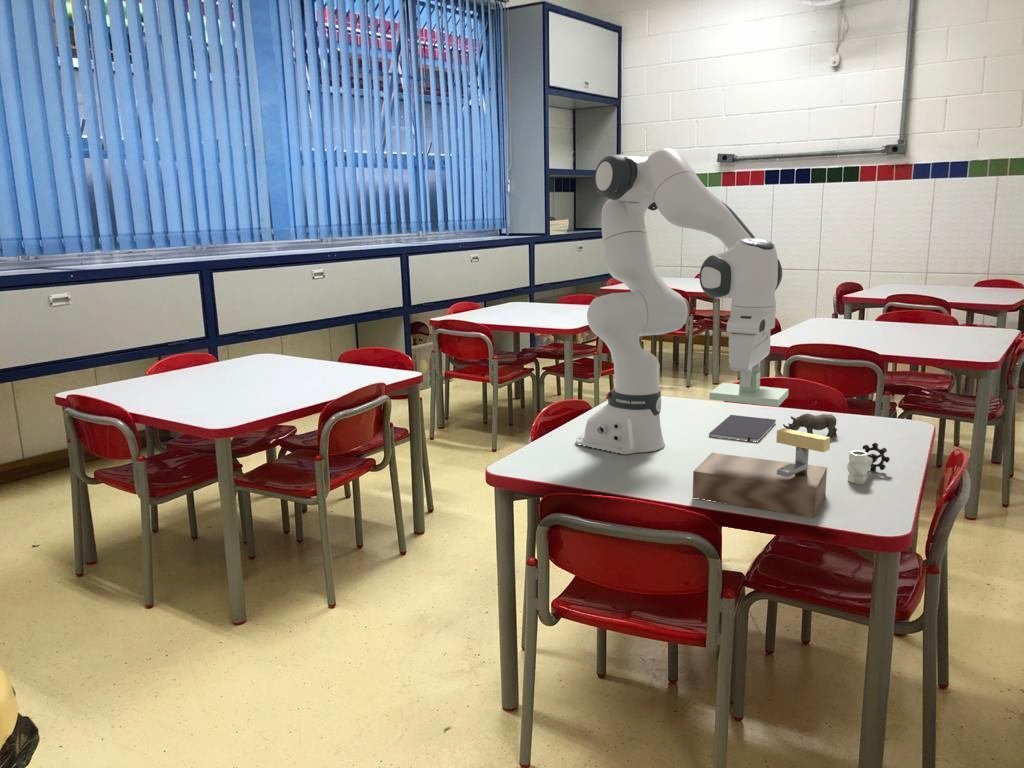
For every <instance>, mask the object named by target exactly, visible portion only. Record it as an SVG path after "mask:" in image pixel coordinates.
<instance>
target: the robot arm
mask: <svg viewBox="0 0 1024 768" xmlns="http://www.w3.org/2000/svg"><path fill="white" fill-rule="evenodd" d="M594 184H595V188H596V191H597V193H598V194H599V195H600V196H601V197H603V198H605V199H608V200H607V201H605V203H604V204H603V205H602V209H601V223H600V224H601V237H602V243H603V249H604V255H605V263H606V268H607V271H608V273H609V274H610V276H611V277H612V278H613V279H615V280H617V281H618V282H621V283H623V284H624V285H625V286H626V287H627V288H628V289H629V291H627V292H612V293H608V294H605V295H601V296H597V297H594V298H593V299H592V301H591V302H590V303H589V306H588V308H587V312H586V313H587V314H586V319H587V324H588V327H589V328H590V331H592V333H593V334H595V336H597V338H600V340H601V341H603V342H604V344H605V345H606V346H607V348H608V350H609V352H610V354H611V357H612V361H613V362H612V363H613V369H614V370H613V372H614V373H613V374H614V387H613V388H612V389H611V390H610V391H608V392H607V393H606V394H605V397H604V398H605V400H607V404H605V405H604V406H602V407H601V408H600V409H598V410H597V411H596V412H594V413H593V414H592V415H591V416H590V417H589V418H587V420H586V424H585V428H584V432H582V433H580V434H579V435H578V436H577V437H576V439H575V444H576V443H577V444H581V445H585V446H589V447H594V448H598V449H597V450H599V449H602V450H601V451H604V450H607V451H606V452H609V451H611V452H610V453H614V452H615V453H614V454H618V453H620V455H631V454H636V453H637V454H638V453H648V452H649V453H650V452H655V451H658V450H662V449H663V448H664V447H665V445H666V443H665V441H664V437H663V432H662V428H661V427H662V426H661V416H660V415H661V409H662V395H661V394H662V393H661V390H660V362H659V360H658V358H657V357H656V356H655V354H653V353H652V352H650V351H648V350H645V349H643V348H642V346H641V343H640V337H645V336H659V335H660V336H661V335H665V334H668V333H672V332H675V331H676V332H677V331H679V330H680V329H682V328H683V326H685V323H686V322H687V319H688V312H689V311H688V306H687V303H686V300H685V298H684V297H683V296H682V295H681V294H680V293H679V292H677V291H675V290H674V289H673V288H671V287H670V286H669V285H668V284H667V283H666V282H665V280H663V278H662V277H661V275H660V274H659V272H658V270H657V269H656V267H655V264H654V260H653V257H652V253H651V249H650V248H651V247H650V244H649V238H648V232H647V227H646V224H645V222H646V221H645V215H646V214H645V213H646V212H647V209H648V210H650V211H656V210H658V211H659V213H660V214H661V215H662V216H663V217H664V218H665V220H666V221H668V222H669V223H670V224H672V225H673V226H677V227H679V228H682V229H683V228H684V229H691V230H695V231H699V232H703V233H707V234H710V235H712V236H714V237H716V238H717V239H719V240H720V241H721V243H723V245H724V246H725V247H726V250H724V251H722V252H719V253H716V254H713V255H709V256H708V257H707V258H705V260H704V261H703V262H702V265H701V266H700V270H699V285H700V287H701V290H702V291H703V292H704V293H705V294H706V295H707V296H708V297H709V298H711V299H717V300H720V299H721V300H723V299H725V300H726V299H731V305H730V306H731V307H730V313H729V316H730V317H729V318H728V320H727V322H726V332H727V333H729V336H728V363H729V368H730V370H731V371H734V372H739V374H740V373H741V378H742V387H750V386H751V385H752V378H751V371H760V366H761V362H762V360H764V359H765V358H766V357H768V356H769V355H770V353H771V352H770V351H771V330H773V329H775V328H776V313H777V312H776V310H777V309H776V308H777V301H776V297H775V296H776V295H775V293H776V290H777V289H778V288H779V286H780V284H781V282H782V280H783V267H782V264H781V262H780V260H779V258H778V253H777V248H776V245H775V244H774V243H772V241H769V240H768V239H767V240H766V239H762V238H756V236H755V235H754V234H753V233H752V232H751V231H750V229H749V228H748V227H747V226H746V224H745V223H744V222H743V221H742V219H741V218H740V217H739V216H738V214H736V212H734V210H732V208H731V207H729V205H727V204H726V203H725V202H723V201H722V200H720V199H719V198H718V197H717V196H715V195H714V194H713V193H712V192H711V191H710V190H709V189H708V187H706V186H705V184H703V181H701V179H700V178H699V176H698V175H697V173H696V172H695V171H694V169H693V168H692V166H691V165H690V164H689V163H688V161H687V160H686V158H684V157H683V156H682V155H681V154H680V153H679V152H678V151H677V150H675V149H672V148H668V147H667V148H660V149H658V150H655V151H654V152H652V153H651V154H650V155H649V156H645V155H644V156H643V155H623V154H612V155H611V154H610V155H608V156H607V155H606V156H605V157H603V158H602V159H601V160H600V162H599V163H598V164H597V166H596V168H595V172H594ZM577 444H576V445H577ZM585 446H584V447H585ZM589 447H588V448H589ZM594 448H593V449H594Z"/></svg>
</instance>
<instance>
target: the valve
mask: <svg viewBox="0 0 1024 768" xmlns="http://www.w3.org/2000/svg"><path fill="white" fill-rule="evenodd" d="M862 449H863V450H864V451H863V450H851V451H850V452H849V456H848V463H847V466H846V467H847V471H848V474H847V482H849V481H850V482H849V483H851V482H852V483H851V484H853V483H856V484H855V485H864V484H866V483H867V480H868V479H867V477H868V475H867V474H868V472H869V471H871V472H876V471H877V468H878V467H879V470H880V471H884V470H885V469H886V465H885V464H884V463H889V462H890V460H891V458H890V457H889V456H885V453H887V452H888V449H887V448H886V447H882V448H879V444H878V443H877V442H873V443H872V444H871V447H870V446H869V444H864V445H862ZM870 451H875V452H878V453H879V454H877V453H875V452H874V453H870V454H869V452H870ZM879 458H881V461H880V462H879V463H876V462H878V460H879ZM865 482H866V483H865Z"/></svg>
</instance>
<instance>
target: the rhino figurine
mask: <svg viewBox="0 0 1024 768" xmlns="http://www.w3.org/2000/svg"><path fill="white" fill-rule="evenodd" d="M790 419H791V420H792V422H791V423H789V422H788V423H787V425H786V424H785V423H783V424H782V425H783V428H785V429H790V430H795V431H798V430H799V429H800V428H805V429H806V433H811V434H814V432H813V430H815V431H824V430H825V429H827V431H828V433H827V434H826V435H825V436H826V437H830V439H832V438H833V437H834V436H833V435H837V436H838V433H837V431H838V429H837V427H836V426H837V421H838V420H837V418H836V416H835V415H833V414H827V413H826V414H825V413H822V414H818V415H814V414H812V413H803V414H801V415H799V416H797V417H794V416H792V415H791V416H790ZM831 437H832V438H831Z"/></svg>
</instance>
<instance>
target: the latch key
mask: <svg viewBox="0 0 1024 768" xmlns="http://www.w3.org/2000/svg"><path fill="white" fill-rule="evenodd" d="M776 443H777V444H782V445H786V446H792V447H795V460H794V461H793V462H790V464H788V465H786V466H784V467H782V468H779V469H777V475H781V476H785V477H790V476H792V475H794V474H796V475H807V470H808V465H809V450H811V451H814V452H815V451H816V452H820V453H825V452H827V451H829V450H830V448H831V438H830V437H826V435H820V434H815V433H813V434H811V433H807V431H806V432H804V431H798V430H797V431H795V430H790V429H786V428H785V427H783V428H780V429H777V430H776Z"/></svg>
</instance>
